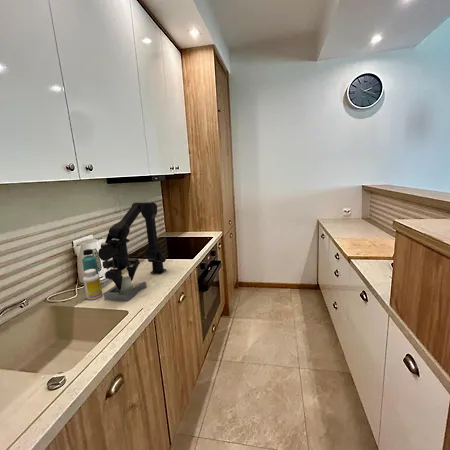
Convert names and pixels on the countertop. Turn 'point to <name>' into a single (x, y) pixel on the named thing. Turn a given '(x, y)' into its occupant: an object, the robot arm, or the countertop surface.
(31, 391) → the countertop surface
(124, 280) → the grey rounded piece
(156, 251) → the robot arm
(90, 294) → the supplement bottle
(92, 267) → the beverage bottle
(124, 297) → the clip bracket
